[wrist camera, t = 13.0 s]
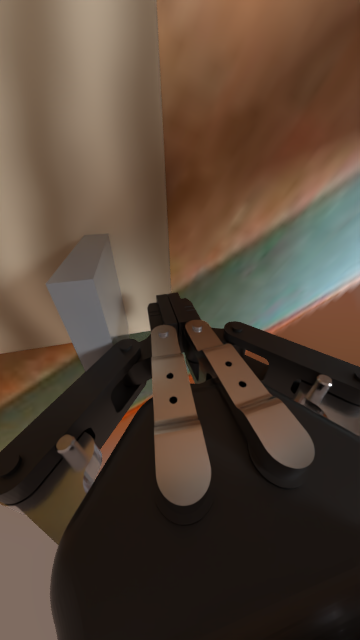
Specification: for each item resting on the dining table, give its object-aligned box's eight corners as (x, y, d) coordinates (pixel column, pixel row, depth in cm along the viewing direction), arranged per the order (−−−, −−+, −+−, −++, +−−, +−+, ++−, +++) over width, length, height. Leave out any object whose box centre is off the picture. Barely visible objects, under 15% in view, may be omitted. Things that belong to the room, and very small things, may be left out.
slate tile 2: (108, 233, 13) (93, 279, 7) (128, 325, 18) (130, 402, 12) (80, 235, 13) (37, 284, 7) (108, 328, 18) (98, 409, 11)
